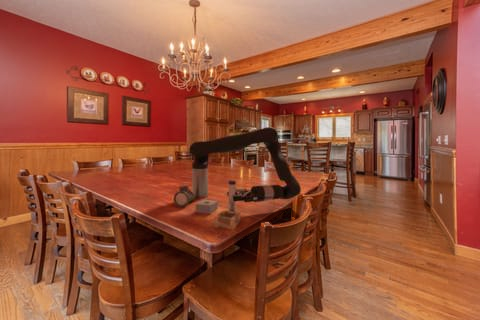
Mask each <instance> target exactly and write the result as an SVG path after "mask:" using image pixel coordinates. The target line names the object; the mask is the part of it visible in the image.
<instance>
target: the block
mask: <svg viewBox="0 0 480 320" xmlns="http://www.w3.org/2000/svg"><path fill="white" fill-rule="evenodd" d="M194 209H195V213H199V214H204V215H205V214H206V215H211V214H213V213H214V212H216V211H217V210H218V209H219V201H218V200H212V199H211V200H210V199H202V200H200V201H198V202H196V203H195V208H194Z"/></svg>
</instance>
